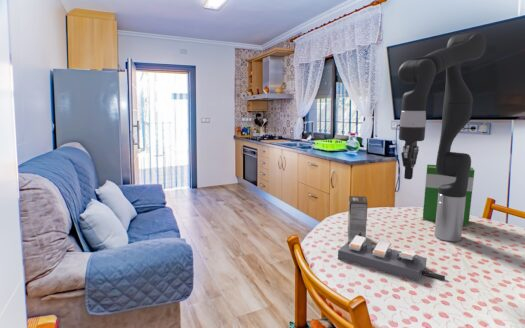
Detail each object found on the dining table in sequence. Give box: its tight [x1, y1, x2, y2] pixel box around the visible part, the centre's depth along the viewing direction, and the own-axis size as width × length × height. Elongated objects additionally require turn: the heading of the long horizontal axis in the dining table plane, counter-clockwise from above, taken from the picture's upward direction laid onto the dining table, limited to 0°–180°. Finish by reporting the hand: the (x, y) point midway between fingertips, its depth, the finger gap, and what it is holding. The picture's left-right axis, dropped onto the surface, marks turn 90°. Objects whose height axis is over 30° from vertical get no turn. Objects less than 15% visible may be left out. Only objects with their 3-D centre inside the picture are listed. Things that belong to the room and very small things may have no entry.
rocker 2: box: [373, 240, 391, 258], centre depth 108 cm, size 7×4×1 cm, turn 143°
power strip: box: [337, 239, 446, 282], centre depth 107 cm, size 11×31×5 cm, turn 54°
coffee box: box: [347, 195, 369, 242], centre depth 126 cm, size 9×6×16 cm
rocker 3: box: [399, 250, 417, 260], centre depth 103 cm, size 7×4×1 cm, turn 144°
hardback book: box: [422, 164, 475, 226], centre depth 148 cm, size 18×7×24 cm, turn 64°
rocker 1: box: [348, 235, 367, 251], centre depth 112 cm, size 7×4×1 cm, turn 143°
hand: (408, 178), depth 109 cm, fingers closed
